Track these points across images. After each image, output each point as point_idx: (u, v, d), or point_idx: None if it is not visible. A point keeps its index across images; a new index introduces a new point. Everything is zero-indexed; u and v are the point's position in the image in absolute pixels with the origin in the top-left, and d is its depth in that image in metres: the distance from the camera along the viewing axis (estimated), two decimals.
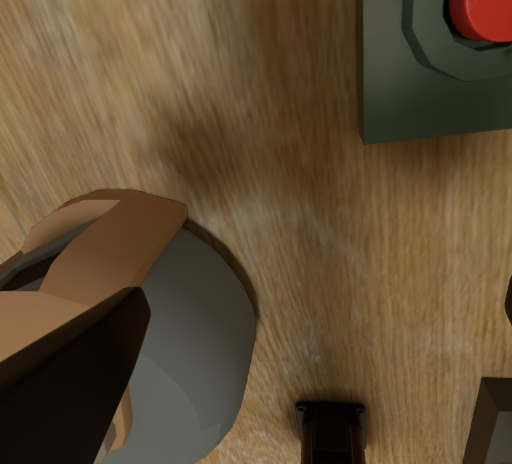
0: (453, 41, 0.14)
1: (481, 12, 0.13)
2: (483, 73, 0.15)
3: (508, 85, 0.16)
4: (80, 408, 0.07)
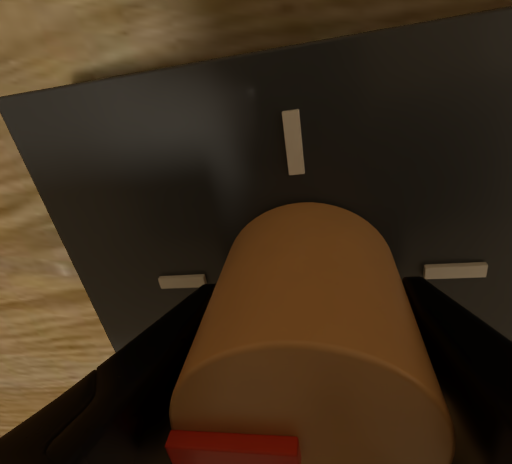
0: None
1: None
2: None
3: None
4: None
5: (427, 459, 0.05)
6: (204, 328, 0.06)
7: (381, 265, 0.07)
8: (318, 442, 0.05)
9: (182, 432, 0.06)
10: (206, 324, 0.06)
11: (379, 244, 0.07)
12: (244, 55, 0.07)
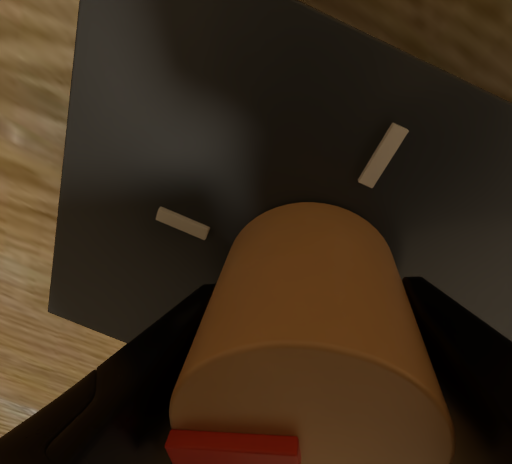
0: None
1: None
2: None
3: None
4: None
5: (427, 459, 0.05)
6: (204, 327, 0.06)
7: (382, 264, 0.07)
8: (318, 441, 0.05)
9: (182, 432, 0.06)
10: (206, 323, 0.06)
11: (379, 244, 0.07)
12: (396, 49, 0.07)
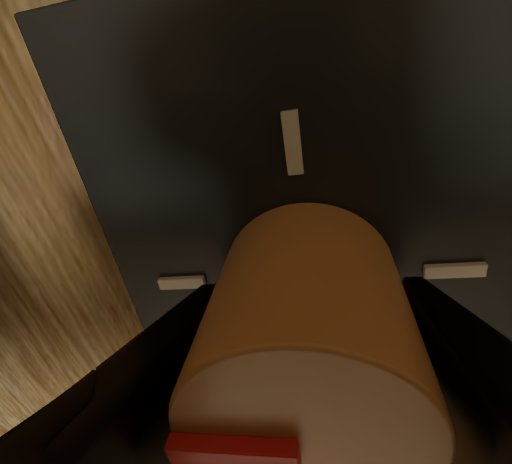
0: None
1: None
2: None
3: None
4: None
5: (428, 460, 0.05)
6: (203, 329, 0.06)
7: (381, 265, 0.07)
8: (319, 444, 0.05)
9: (181, 434, 0.06)
10: (205, 325, 0.06)
11: (379, 244, 0.07)
12: None
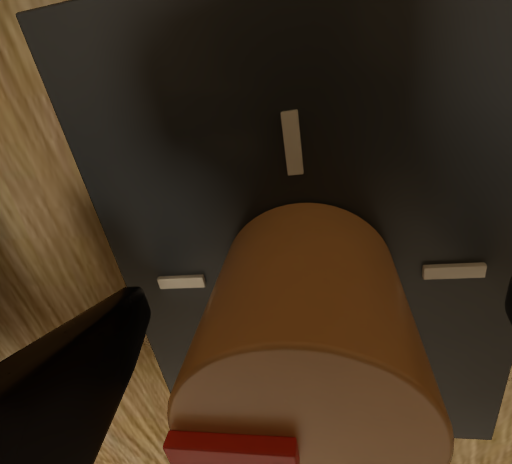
0: None
1: None
2: None
3: None
4: (80, 408, 0.07)
5: (425, 460, 0.05)
6: (202, 329, 0.06)
7: (380, 265, 0.07)
8: (316, 442, 0.05)
9: (180, 432, 0.06)
10: (204, 325, 0.06)
11: (378, 244, 0.07)
12: None
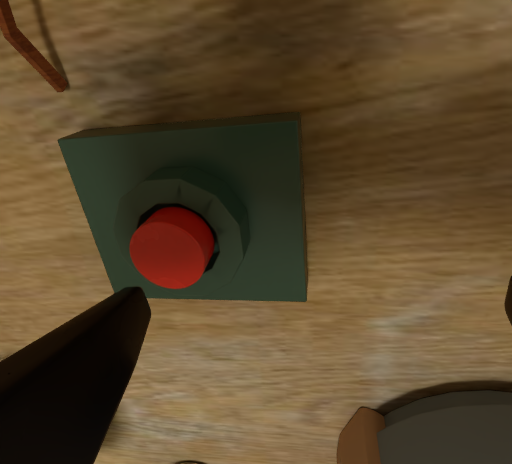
0: (213, 269, 0.17)
1: (185, 278, 0.16)
2: (236, 246, 0.16)
3: (258, 194, 0.17)
4: (80, 408, 0.07)
5: None
6: None
7: None
8: None
9: None
10: None
11: None
12: None
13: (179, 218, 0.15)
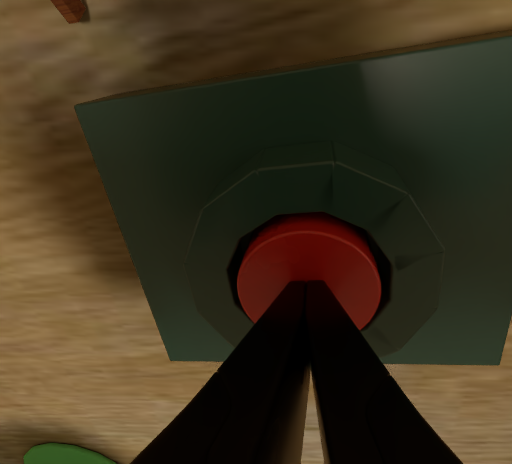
0: (369, 328, 0.09)
1: None
2: (429, 290, 0.08)
3: (455, 187, 0.09)
4: (293, 418, 0.06)
5: None
6: None
7: None
8: None
9: None
10: None
11: None
12: None
13: (332, 222, 0.08)
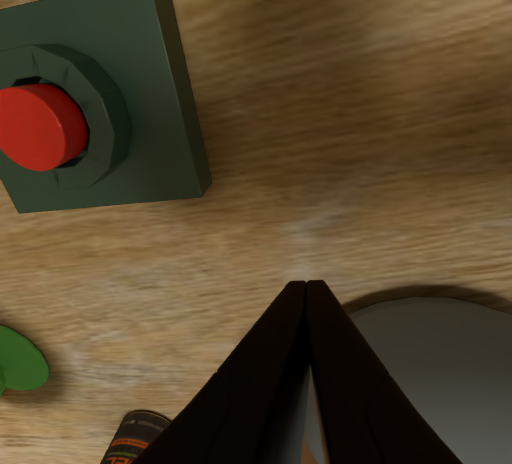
0: (88, 154, 0.17)
1: (50, 156, 0.15)
2: (104, 122, 0.16)
3: (128, 71, 0.16)
4: (293, 418, 0.06)
5: None
6: None
7: None
8: None
9: None
10: None
11: None
12: None
13: (34, 87, 0.15)
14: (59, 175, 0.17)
